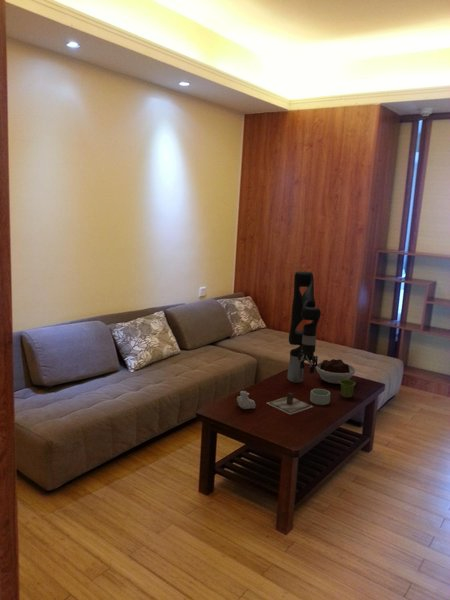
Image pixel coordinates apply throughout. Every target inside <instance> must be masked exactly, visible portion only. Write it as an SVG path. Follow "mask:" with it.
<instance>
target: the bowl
mask: <svg viewBox="0 0 450 600" xmlns="http://www.w3.org/2000/svg"><path fill="white" fill-rule="evenodd" d="M309 396H310V397H309V401H310V402H311V403H312V404H314V405H318V406H325V405H326V406H327V405H329V404H330V403H331V392H330V391H329V390H327V389H324V388H314V389H311V390H310V395H309Z"/></svg>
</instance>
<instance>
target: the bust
mask: <svg viewBox="0 0 450 600" xmlns="http://www.w3.org/2000/svg"><path fill="white" fill-rule="evenodd" d="M239 395H240V396H237V398H236V403H237V404H238V407H240V408H241V409H242V410H249V409H252V410H253V409H255V408H256V403H255V401H254V400H253V399H250V398H249V395H250V393H249V392H247V391H246V390H240V392H239Z"/></svg>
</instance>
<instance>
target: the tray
mask: <svg viewBox="0 0 450 600" xmlns="http://www.w3.org/2000/svg"><path fill="white" fill-rule="evenodd" d="M285 397H286V396H285ZM285 397H283V398H285ZM275 400H276V399H275ZM275 400H273V401H275ZM270 402H271V401H269V402H266V404H268V405H269V406H271V407H273V408H275V409H277V410H279V411H281V412H283V413H286V414H288V415H293V414H296V413H300V412H302V411H305V410H308V409H311V408H314V406H313V405H311V404H309V405H310V407H307V408H304V409H301V410H298V411H295V412H292V413H289V412H287V411H285V410H283V409H281V408H278V407H276V406H274V405H272V404H270Z"/></svg>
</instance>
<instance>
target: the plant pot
mask: <svg viewBox="0 0 450 600" xmlns="http://www.w3.org/2000/svg"><path fill="white" fill-rule="evenodd" d="M339 385H340V394H341V397H343V398H346V399H347V398H352V397H353V393H354V387H355V385H356V381H353V380H350V379H349V380H341V381H340V384H339Z"/></svg>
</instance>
